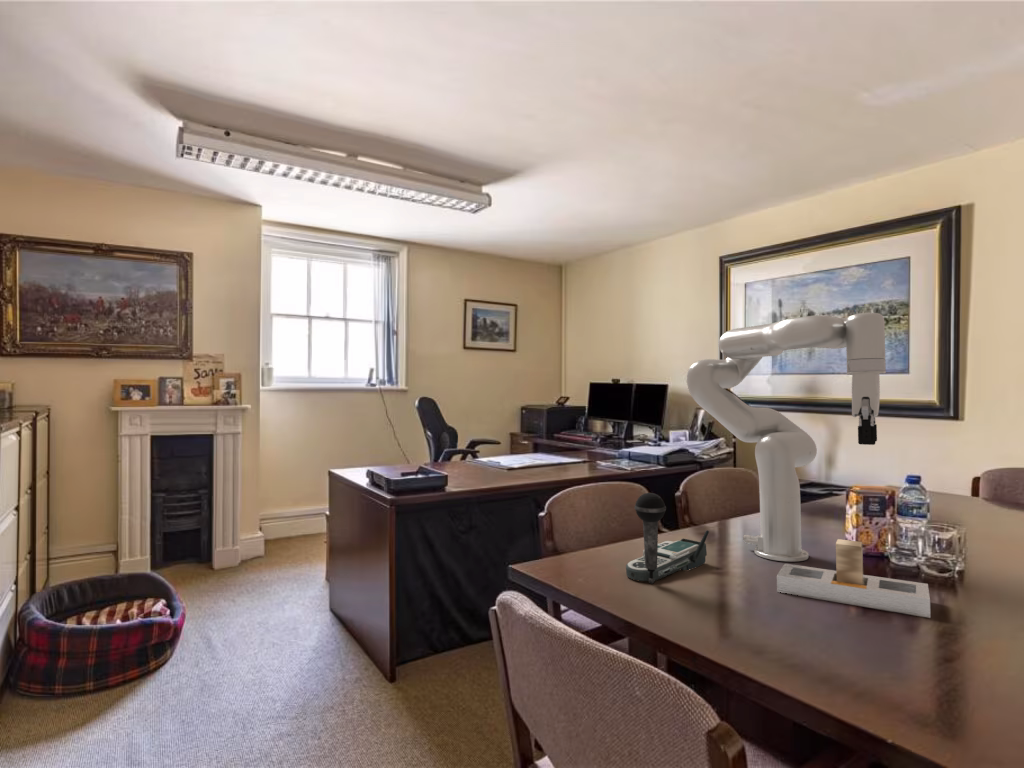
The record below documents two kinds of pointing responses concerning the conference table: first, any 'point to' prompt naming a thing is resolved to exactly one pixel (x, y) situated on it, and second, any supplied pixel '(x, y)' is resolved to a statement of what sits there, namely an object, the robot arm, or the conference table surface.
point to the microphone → (650, 527)
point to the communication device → (670, 559)
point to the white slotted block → (856, 590)
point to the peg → (849, 561)
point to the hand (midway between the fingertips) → (867, 442)
